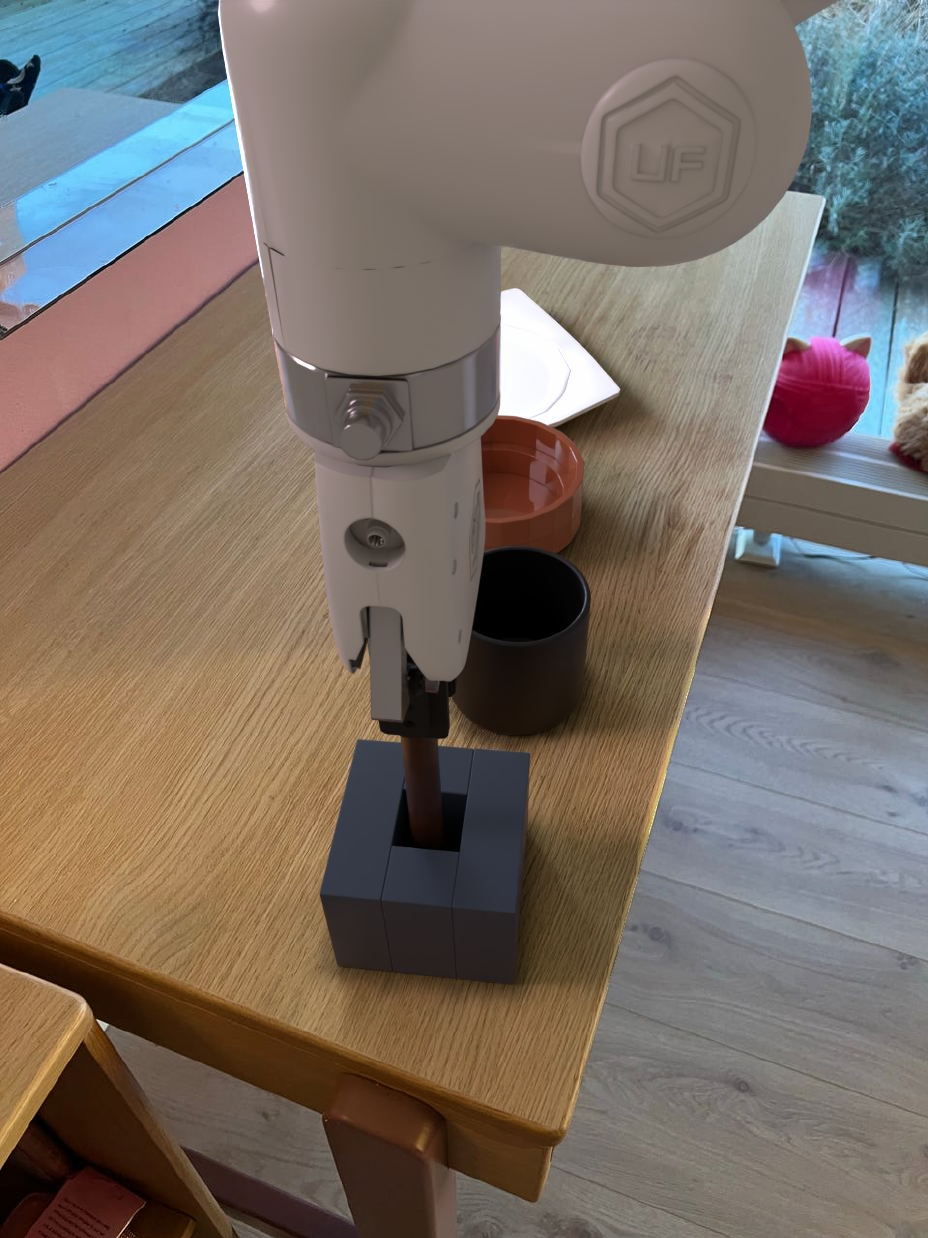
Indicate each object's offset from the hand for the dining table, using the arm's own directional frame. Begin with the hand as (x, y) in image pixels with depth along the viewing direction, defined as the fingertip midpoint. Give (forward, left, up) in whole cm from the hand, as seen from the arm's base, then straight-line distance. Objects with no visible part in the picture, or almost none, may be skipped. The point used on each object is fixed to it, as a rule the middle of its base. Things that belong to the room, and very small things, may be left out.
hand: (419, 709), depth 47 cm
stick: (0, 0, -13) cm, 13 cm away
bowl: (0, -35, -17) cm, 39 cm away
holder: (0, 0, -17) cm, 17 cm away
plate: (+5, -55, -17) cm, 58 cm away
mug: (-4, -18, -17) cm, 25 cm away
